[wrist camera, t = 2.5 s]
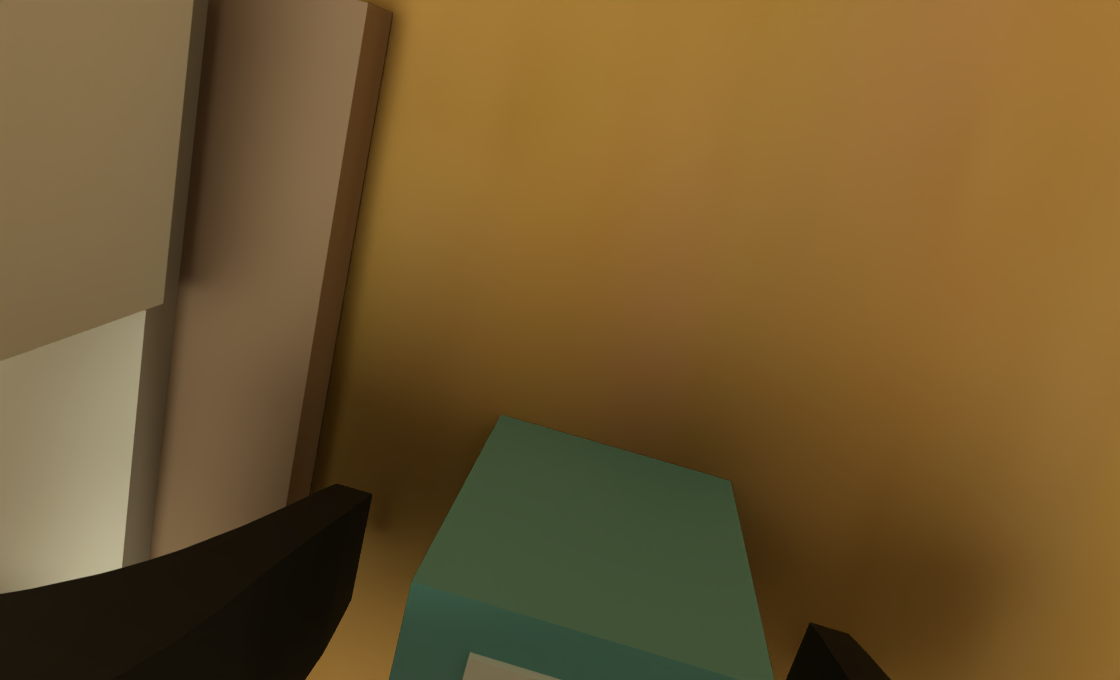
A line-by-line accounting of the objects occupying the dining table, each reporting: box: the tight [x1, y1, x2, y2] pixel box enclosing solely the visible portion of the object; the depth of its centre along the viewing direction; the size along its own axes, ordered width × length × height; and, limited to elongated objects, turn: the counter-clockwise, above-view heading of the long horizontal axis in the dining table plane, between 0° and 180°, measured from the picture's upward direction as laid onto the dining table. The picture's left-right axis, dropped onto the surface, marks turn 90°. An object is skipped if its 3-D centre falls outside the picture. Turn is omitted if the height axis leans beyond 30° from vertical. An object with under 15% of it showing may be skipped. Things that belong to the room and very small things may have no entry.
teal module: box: [389, 415, 774, 680], centre depth 11 cm, size 4×4×5 cm
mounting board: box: [0, 0, 393, 594], centre depth 13 cm, size 8×16×2 cm, turn 166°
